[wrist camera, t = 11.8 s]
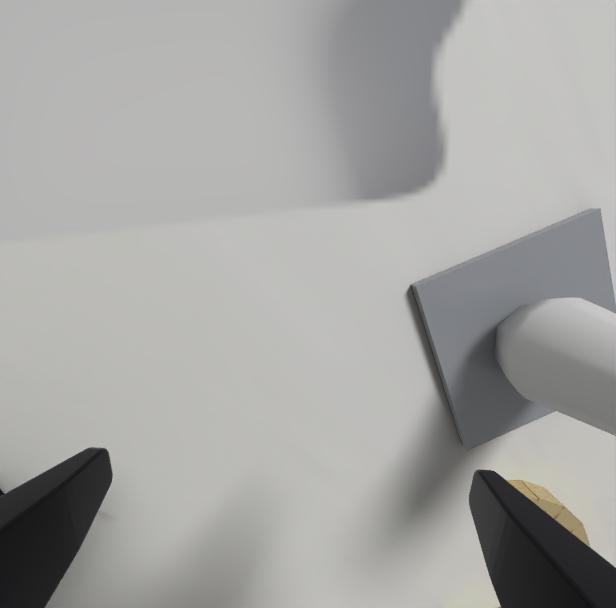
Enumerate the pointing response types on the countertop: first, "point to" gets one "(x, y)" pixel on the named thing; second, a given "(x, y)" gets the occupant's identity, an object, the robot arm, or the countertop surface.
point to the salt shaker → (563, 358)
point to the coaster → (497, 307)
